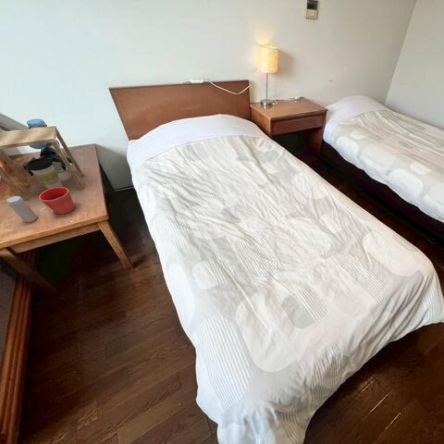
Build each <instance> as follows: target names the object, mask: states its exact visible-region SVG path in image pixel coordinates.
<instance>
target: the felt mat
mask: <svg viewBox="0 0 444 444" xmlns="http://www.w3.org/2000/svg"><path fill="white" fill-rule="evenodd" d="M52 163H53V164H52V165H53V167H54V168H55V170H56V172H57V173H63V172H67V171H68V172H69V170H68V168H67V167H66V170H65V171H64V170H63V168H62V167H61V163H60V162H52ZM70 165H71V166H72V167H73V163H70Z"/></svg>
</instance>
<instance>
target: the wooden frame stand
mask: <svg viewBox="0 0 444 444" xmlns="http://www.w3.org/2000/svg"><path fill="white" fill-rule="evenodd" d="M56 140H57V141H58V142H59V144H60V147H59V145H58V144H57V142H56ZM44 143H52V144H53V146H54V148H55V149H56V151H57V152H58V154H59V156H60V157H61V159H62V160H63V162H64V164H65V165H66V167H67V168H68V172H69V173H70V175H71V176H72V178H73V180H74V181H75V183H76V184H77V186H78V187H79V189H80V190H84V189H85V186H84V185H83V182H82V181H81V179H80V178H79V176H80V177H84V175H85V174H84V172H83V171H82V169H81V167H80V165H79V164H78V162H77V160H76V158H75V157H74V155H73V153H72V152H71V150H70V148H69V146H68V144H67V143H66V142H65V140H64V138H63V136H62V134H61V133H60V131H59V129H58V128H57V126H56V125H53V126H52V125H51V126H47V127H42V128H33V129H23V130H14V131H0V157H2V159H3V161H5V163H6V164H7V165H8V166H9V167H10V169H11V170H12V171H13V172H14V174H15V175H16V176H17V177H18V178H19V180H20V181H21V182H22V184H23V185H24V186H25V187H30V186H31V183H30V181H28V180H27V178H26V177H25V176H24V175H23V173H22V172H21V170H20V169H19V168H18V167H17V166H16V164H15V163H14V161H12V159H11V158H10V157H9V156H8V154H7V153H6V152H5V151H4V150H5V149H12V148H20V147H29V145H36V144H44ZM61 146H62V148H63V149H61ZM63 150H64V151H65V153H66V155H67V157H68V158H70V160H71V161H72V166H71V165H70V163H69V162H68V160H67V158H66V157H65V156H66V155H65V153H64V152H63ZM60 157H59V158H60ZM73 166H74V168H75V170H76V171H77V173H78V174H77V173H76V171H75V170H74V168H73ZM78 175H79V176H78ZM0 177H1V178H2V180H3V181H4V182H5V183H6V184H7V186H9V188H10V189H11V190H12V191H13V192H14V193H15V196H20V197H21V198H22V199H23V200H24V201H25V202H26V201H27V200H28V199H27V197H26V196H25V195H24V193H23V192H22V191H21V190H20V189H19V188H18V187H17V185H16V184H15V183H14V182H13V180H12V179H11V178H10V177H9V176H8V175H7V174H6V172H5V171H4V170H3V168H2V167H1V166H0Z"/></svg>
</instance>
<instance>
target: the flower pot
mask: <svg viewBox="0 0 444 444" xmlns="http://www.w3.org/2000/svg"><path fill="white" fill-rule="evenodd" d="M38 199H39V201H41V202H42V203H43V205H45V206H46V207H47V208H48V209H50V210H51V211H52V212H54V213H55V214H57V215H64V214H68V213H70V212H72V211H73V210H74V209H75V204H74V201H73V197H72V195H71V192H70V190H69V189H68V188H67V187H64V186H62V187H56V188H51V189H48V188H47V189H46V190H44V191H42V192H41V193H40V194H39V196H38Z"/></svg>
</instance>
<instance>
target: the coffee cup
mask: <svg viewBox="0 0 444 444" xmlns="http://www.w3.org/2000/svg"><path fill="white" fill-rule="evenodd" d="M38 158H39V157H38ZM29 161H30V160H29ZM29 161H27V162H28V163H27V162H26V163H27V168H28V169H29V170H31V171H32V172H33V174H34V175H33V176H35V177H36V179H38V180H39V181H40V182H41V183H42V184H43V185H44V187H46V188H47V190H48V189H51V188H56V187H64V185H63V184H62V181H61V178H60V176H59V174H58V172H56V170H55V168H54V167H53V165H52V164H53V163H52V162H51V161H50V160H48V159H46V158H39V159H34V160H32V161H30V162H29Z"/></svg>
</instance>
